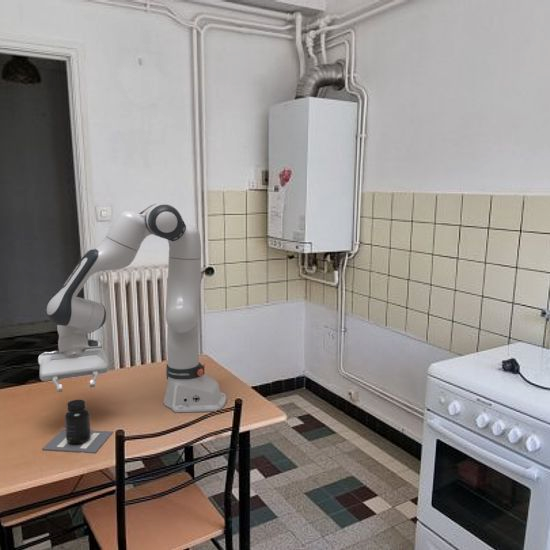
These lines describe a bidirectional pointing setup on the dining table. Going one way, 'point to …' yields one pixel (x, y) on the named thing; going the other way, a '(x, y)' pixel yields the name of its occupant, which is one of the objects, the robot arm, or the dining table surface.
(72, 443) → the supplement bottle
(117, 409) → the dining table surface
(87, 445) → the board
